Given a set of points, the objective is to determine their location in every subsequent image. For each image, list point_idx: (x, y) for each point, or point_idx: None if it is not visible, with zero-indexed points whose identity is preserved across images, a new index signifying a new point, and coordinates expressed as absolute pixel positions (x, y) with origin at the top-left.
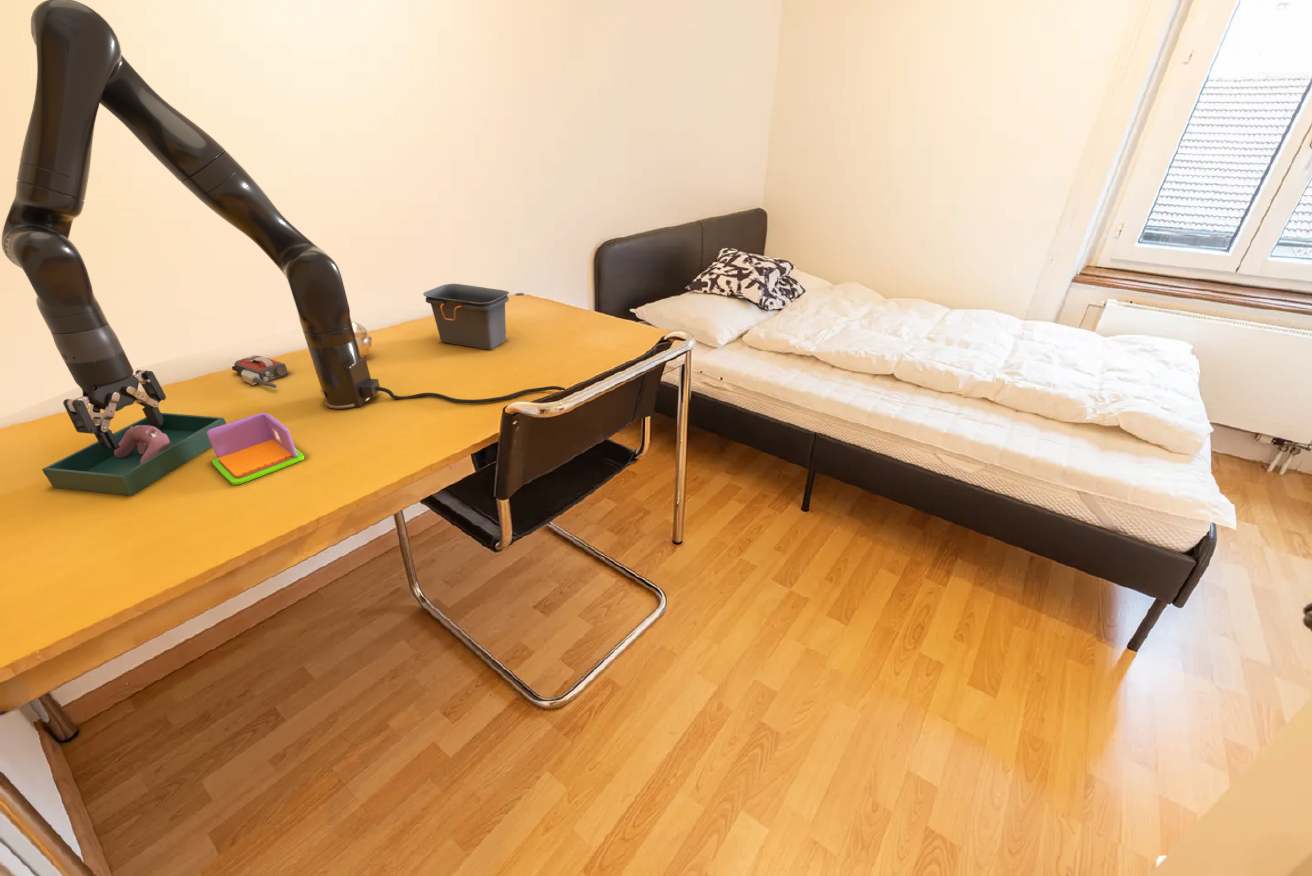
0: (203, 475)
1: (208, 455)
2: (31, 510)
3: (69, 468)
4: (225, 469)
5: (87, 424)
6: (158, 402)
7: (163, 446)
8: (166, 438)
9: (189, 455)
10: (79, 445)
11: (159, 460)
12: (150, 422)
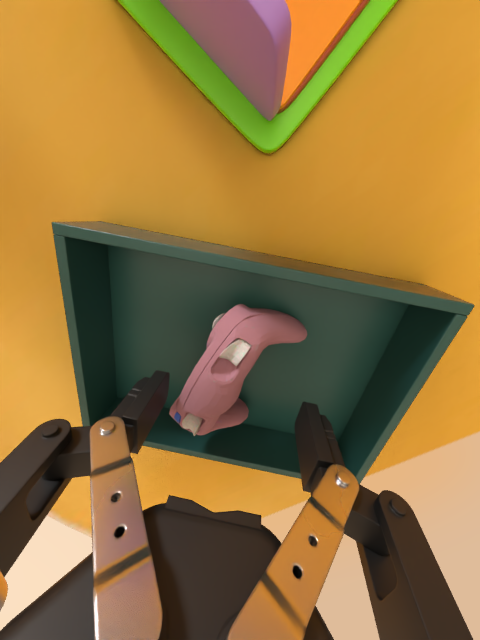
0: (349, 134)
1: (222, 209)
2: (421, 434)
3: None
4: (352, 26)
5: (423, 553)
6: (87, 428)
7: (254, 311)
8: (231, 315)
9: (241, 250)
10: (192, 482)
11: (335, 274)
12: (162, 403)
